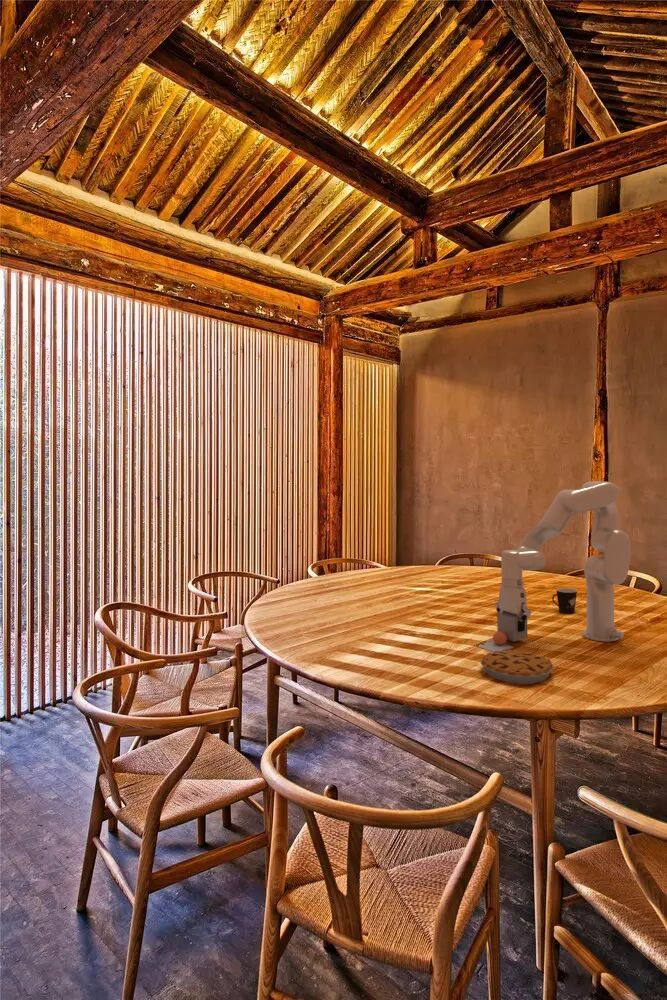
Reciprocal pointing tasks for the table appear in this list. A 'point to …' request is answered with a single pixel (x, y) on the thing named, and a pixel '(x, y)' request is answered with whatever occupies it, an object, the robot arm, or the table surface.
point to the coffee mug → (566, 600)
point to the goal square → (494, 646)
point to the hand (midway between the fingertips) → (512, 628)
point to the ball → (499, 638)
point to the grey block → (510, 626)
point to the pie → (517, 666)
